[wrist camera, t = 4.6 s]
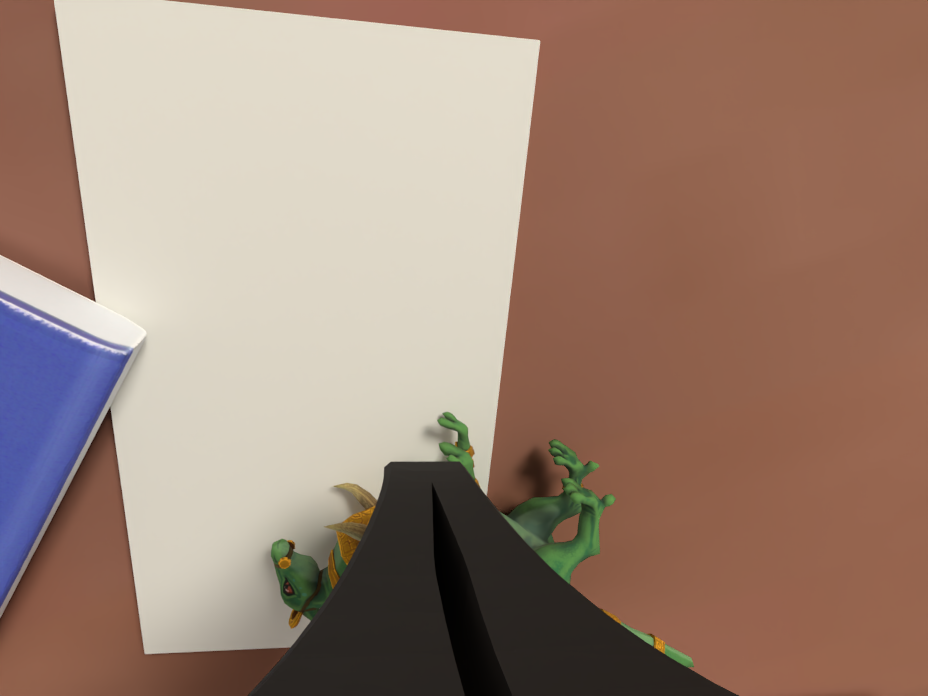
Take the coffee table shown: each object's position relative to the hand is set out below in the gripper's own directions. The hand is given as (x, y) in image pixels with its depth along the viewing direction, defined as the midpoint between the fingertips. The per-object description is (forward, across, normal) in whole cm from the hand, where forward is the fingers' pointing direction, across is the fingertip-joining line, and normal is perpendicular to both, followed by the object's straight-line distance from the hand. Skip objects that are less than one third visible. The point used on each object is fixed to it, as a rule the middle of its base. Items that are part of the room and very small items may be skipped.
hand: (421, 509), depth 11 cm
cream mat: (+5, +2, 0) cm, 5 cm away
